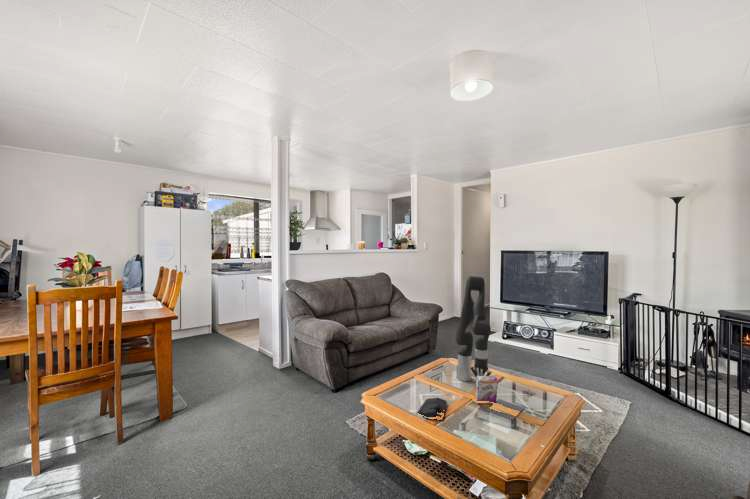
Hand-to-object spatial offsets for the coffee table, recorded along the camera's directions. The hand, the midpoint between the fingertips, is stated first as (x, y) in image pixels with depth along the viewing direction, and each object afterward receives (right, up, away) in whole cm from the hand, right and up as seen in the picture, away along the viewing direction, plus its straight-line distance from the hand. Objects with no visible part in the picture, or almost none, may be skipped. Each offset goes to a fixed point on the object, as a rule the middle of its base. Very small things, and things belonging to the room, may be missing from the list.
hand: (480, 384), depth 196 cm
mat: (+11, -10, -10) cm, 18 cm away
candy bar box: (+2, -9, -2) cm, 9 cm away
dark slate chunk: (-31, -10, -11) cm, 34 cm away
